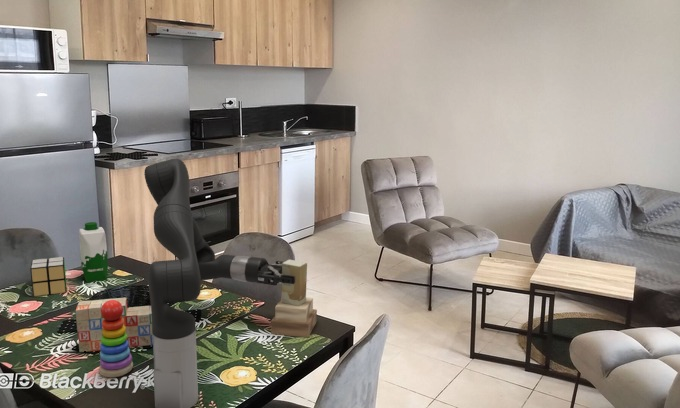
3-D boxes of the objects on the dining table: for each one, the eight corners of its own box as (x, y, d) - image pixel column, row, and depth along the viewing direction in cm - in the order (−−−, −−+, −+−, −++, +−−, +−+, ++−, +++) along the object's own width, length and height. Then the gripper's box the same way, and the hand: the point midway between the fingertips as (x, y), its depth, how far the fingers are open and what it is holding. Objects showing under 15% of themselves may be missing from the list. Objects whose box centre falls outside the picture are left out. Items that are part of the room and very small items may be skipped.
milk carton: (106, 272, 215) (103, 220, 211) (110, 280, 207) (106, 226, 203) (81, 276, 211) (76, 223, 206) (83, 284, 203) (79, 229, 199)
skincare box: (280, 302, 168) (280, 262, 166) (288, 297, 172) (288, 258, 169) (300, 306, 165) (300, 266, 163) (307, 301, 169) (307, 262, 167)
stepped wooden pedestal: (308, 337, 164) (308, 311, 162) (271, 333, 166) (270, 307, 164) (316, 321, 175) (316, 297, 173) (281, 318, 177) (281, 294, 175)
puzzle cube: (34, 287, 199) (31, 259, 197) (66, 283, 203) (64, 256, 201) (33, 297, 190) (30, 268, 188) (66, 293, 194) (64, 264, 192)
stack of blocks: (163, 335, 164) (161, 294, 162) (162, 344, 159) (160, 302, 156) (82, 342, 159) (78, 300, 156) (78, 352, 153) (75, 309, 150)
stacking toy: (94, 370, 144) (88, 299, 140) (125, 359, 149) (120, 291, 145) (107, 382, 138) (101, 309, 134) (138, 371, 144) (134, 300, 140)
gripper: (237, 264, 164) (291, 270, 159) (259, 250, 177) (308, 256, 172) (238, 289, 165) (291, 296, 161) (259, 273, 178) (308, 279, 174)
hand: (300, 275), depth 166 cm, fingers open, 8 cm apart
